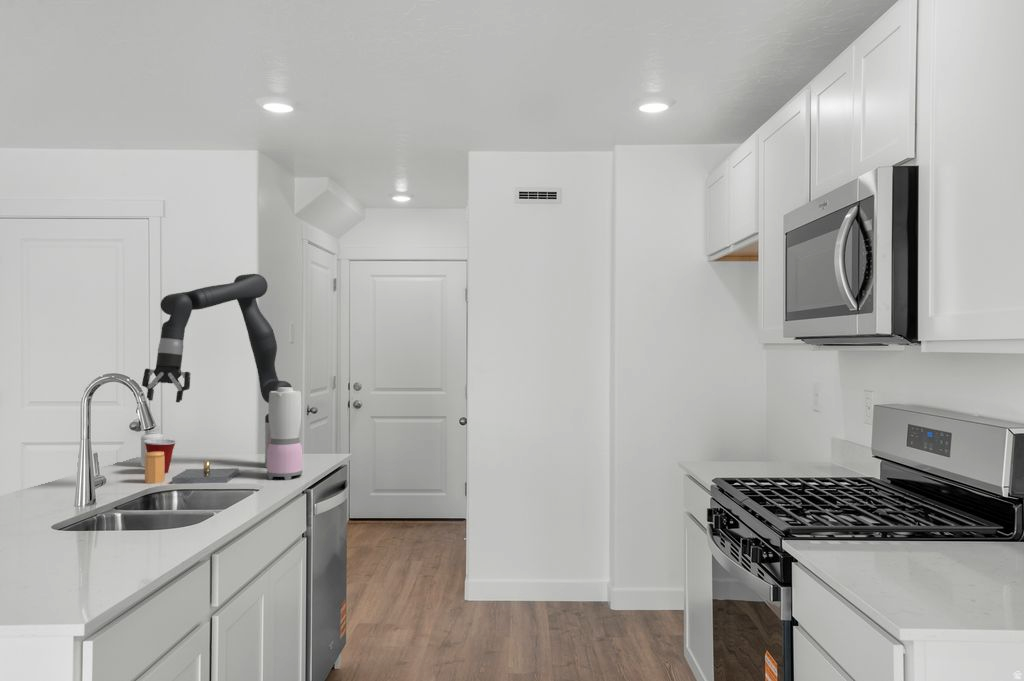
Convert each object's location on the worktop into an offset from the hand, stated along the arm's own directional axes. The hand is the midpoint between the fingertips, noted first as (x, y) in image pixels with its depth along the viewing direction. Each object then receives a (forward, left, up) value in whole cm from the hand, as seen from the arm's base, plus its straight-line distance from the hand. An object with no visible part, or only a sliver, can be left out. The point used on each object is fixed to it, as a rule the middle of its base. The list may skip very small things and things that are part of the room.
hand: (164, 401), depth 237 cm
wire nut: (-10, -6, -29) cm, 31 cm away
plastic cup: (-27, -10, -29) cm, 41 cm away
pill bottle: (-42, -18, -29) cm, 54 cm away
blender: (-16, +37, -29) cm, 49 cm away
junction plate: (-14, +10, -29) cm, 33 cm away
